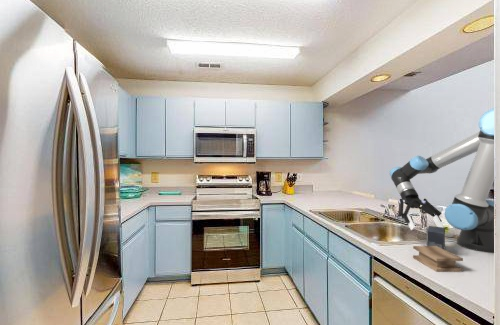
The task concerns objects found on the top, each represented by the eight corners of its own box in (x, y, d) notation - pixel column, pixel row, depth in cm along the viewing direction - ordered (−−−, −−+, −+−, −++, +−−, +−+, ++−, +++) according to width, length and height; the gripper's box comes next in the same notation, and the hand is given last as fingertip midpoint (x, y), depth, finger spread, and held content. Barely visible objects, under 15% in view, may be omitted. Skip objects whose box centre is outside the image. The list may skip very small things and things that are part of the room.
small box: (428, 246, 119) (428, 225, 119) (445, 250, 115) (445, 227, 115) (426, 253, 111) (426, 230, 111) (444, 257, 107) (445, 233, 107)
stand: (436, 257, 106) (436, 245, 106) (462, 271, 93) (462, 258, 93) (413, 257, 106) (413, 246, 106) (436, 271, 93) (436, 258, 93)
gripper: (427, 196, 134) (449, 232, 120) (381, 196, 134) (397, 232, 120) (434, 187, 129) (458, 224, 114) (387, 188, 129) (405, 224, 114)
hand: (427, 228), depth 117 cm, fingers open, 13 cm apart
